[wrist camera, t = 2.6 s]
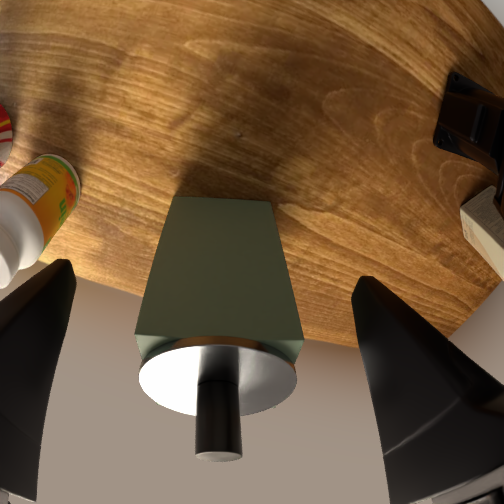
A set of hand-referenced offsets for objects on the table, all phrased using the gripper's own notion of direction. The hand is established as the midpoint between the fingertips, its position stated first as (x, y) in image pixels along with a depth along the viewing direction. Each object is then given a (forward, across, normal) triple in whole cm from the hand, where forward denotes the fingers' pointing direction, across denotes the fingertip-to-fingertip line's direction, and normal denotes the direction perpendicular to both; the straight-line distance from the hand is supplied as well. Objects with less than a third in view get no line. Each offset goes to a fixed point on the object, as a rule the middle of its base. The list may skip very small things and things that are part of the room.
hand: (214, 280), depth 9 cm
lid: (+1, 0, +7) cm, 7 cm away
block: (+13, 0, +7) cm, 15 cm away
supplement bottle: (+13, +13, +3) cm, 19 cm away
